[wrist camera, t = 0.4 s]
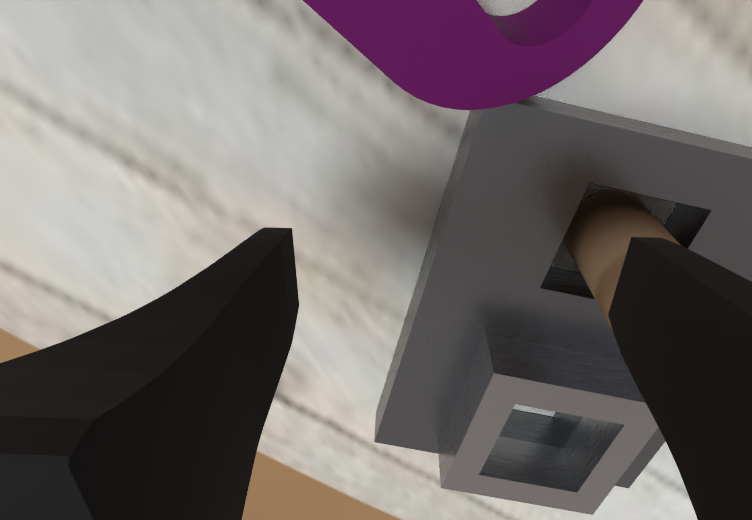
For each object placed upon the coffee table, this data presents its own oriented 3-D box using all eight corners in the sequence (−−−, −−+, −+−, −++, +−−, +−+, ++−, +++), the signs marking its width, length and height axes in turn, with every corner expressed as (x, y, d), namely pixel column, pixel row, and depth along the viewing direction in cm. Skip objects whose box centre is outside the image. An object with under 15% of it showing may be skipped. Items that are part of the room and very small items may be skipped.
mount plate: (824, 165, 20) (925, 217, 16) (615, 456, 29) (647, 533, 25) (479, 83, 19) (498, 117, 15) (376, 412, 28) (372, 485, 24)
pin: (661, 200, 21) (809, 345, 13) (623, 268, 23) (734, 430, 15) (582, 182, 21) (688, 320, 13) (550, 252, 23) (626, 410, 15)
